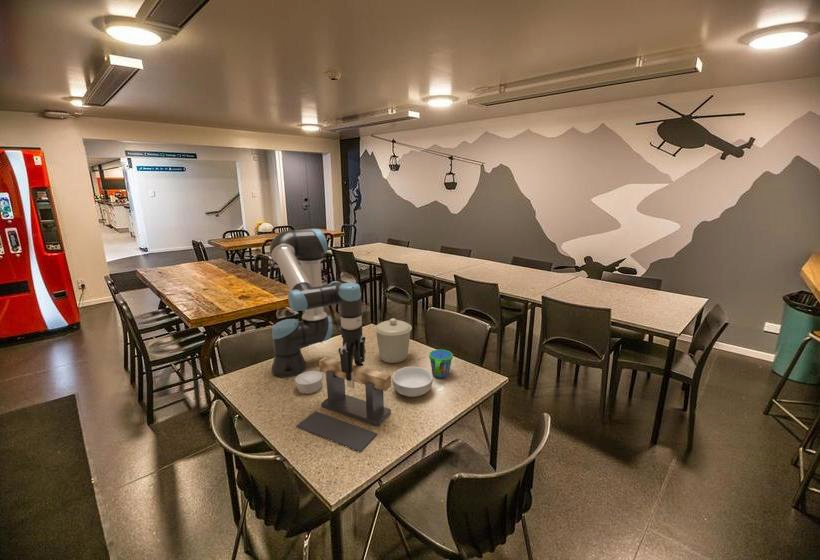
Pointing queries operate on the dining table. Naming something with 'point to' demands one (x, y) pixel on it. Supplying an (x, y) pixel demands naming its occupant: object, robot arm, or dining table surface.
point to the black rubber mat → (337, 430)
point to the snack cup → (440, 362)
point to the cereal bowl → (412, 381)
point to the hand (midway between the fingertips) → (354, 384)
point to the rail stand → (355, 402)
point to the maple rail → (357, 373)
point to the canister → (393, 340)
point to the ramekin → (309, 381)
